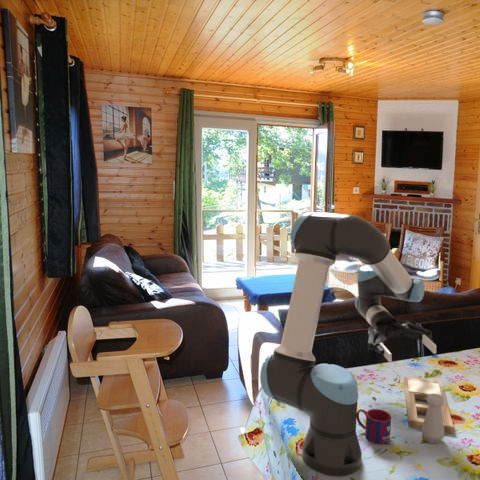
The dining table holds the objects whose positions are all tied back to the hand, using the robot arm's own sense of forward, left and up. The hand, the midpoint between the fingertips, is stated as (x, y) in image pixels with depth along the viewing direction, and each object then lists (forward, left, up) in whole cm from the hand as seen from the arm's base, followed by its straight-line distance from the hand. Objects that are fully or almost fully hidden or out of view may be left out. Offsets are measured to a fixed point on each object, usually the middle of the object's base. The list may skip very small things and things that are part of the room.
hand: (412, 353), depth 129 cm
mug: (-10, -9, -22) cm, 26 cm away
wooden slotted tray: (+6, +13, -22) cm, 26 cm away
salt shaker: (+6, -6, -22) cm, 24 cm away
